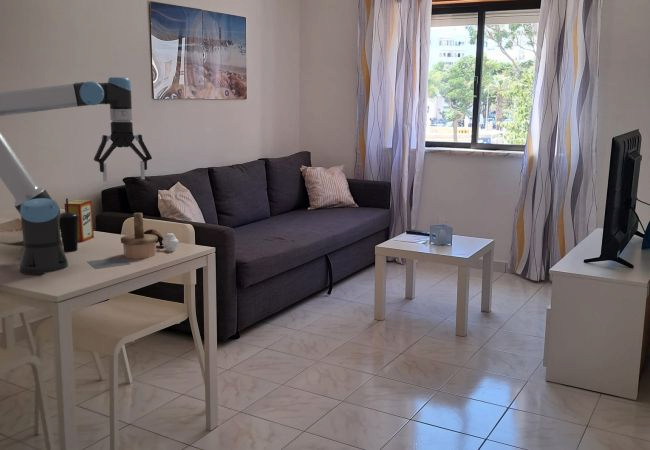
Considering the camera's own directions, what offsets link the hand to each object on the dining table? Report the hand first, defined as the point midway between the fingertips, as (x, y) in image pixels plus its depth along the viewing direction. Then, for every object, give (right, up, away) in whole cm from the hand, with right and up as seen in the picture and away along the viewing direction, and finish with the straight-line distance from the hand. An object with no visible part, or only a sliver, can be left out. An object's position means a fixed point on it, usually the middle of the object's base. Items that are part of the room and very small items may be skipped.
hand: (124, 180), depth 242 cm
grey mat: (-2, -30, -11) cm, 32 cm away
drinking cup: (-24, -26, +11) cm, 37 cm away
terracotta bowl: (+6, -28, +1) cm, 29 cm away
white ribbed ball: (+14, -26, +11) cm, 32 cm away
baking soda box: (-27, -23, +30) cm, 46 cm away
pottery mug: (+6, -25, +17) cm, 31 cm away
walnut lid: (+6, -22, -1) cm, 23 cm away
